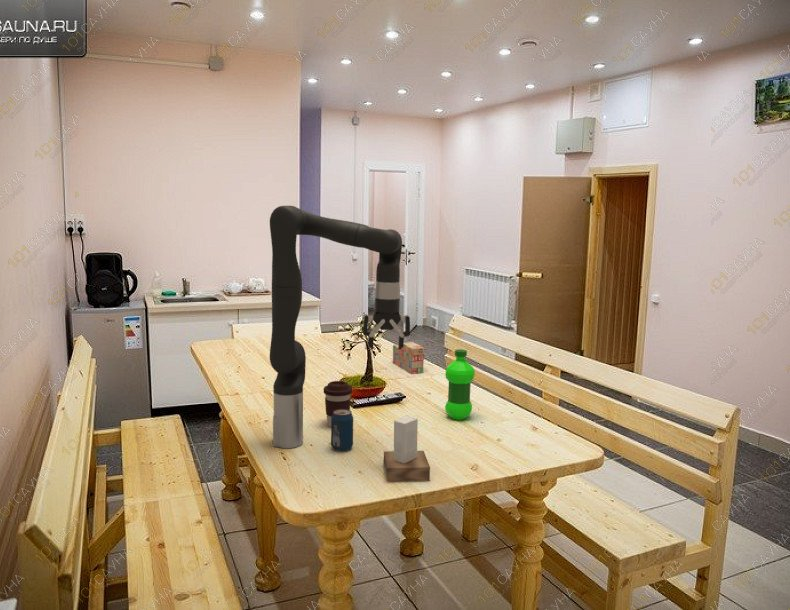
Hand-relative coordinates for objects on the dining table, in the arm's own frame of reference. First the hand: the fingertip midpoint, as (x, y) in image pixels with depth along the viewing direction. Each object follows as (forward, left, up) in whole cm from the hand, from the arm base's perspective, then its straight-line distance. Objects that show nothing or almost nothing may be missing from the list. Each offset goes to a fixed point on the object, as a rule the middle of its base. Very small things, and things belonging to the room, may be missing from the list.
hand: (385, 348), depth 193 cm
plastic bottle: (+30, +30, -33) cm, 54 cm away
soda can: (-13, +3, -33) cm, 36 cm away
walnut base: (+5, -16, -33) cm, 37 cm away
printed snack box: (+20, +100, -33) cm, 107 cm away
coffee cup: (-14, +24, -33) cm, 43 cm away
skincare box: (+5, -16, -29) cm, 33 cm away
